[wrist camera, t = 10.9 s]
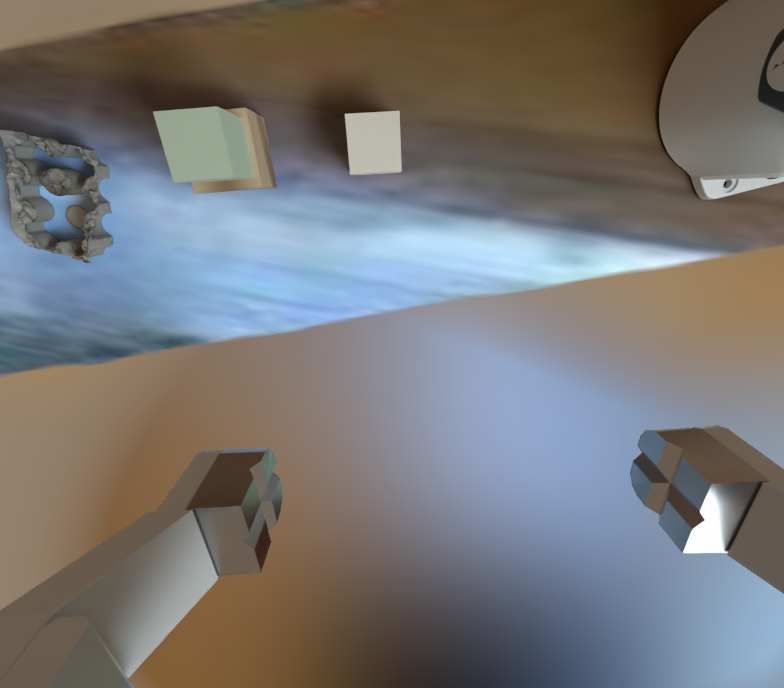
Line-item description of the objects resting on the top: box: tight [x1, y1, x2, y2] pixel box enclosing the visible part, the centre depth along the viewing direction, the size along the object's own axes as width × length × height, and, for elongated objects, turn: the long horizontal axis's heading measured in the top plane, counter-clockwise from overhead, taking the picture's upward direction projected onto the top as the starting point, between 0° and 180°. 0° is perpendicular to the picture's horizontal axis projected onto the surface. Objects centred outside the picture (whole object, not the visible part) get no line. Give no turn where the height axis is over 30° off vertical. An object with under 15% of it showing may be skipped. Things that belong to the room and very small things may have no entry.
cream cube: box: [345, 111, 402, 175], centre depth 33 cm, size 4×4×5 cm
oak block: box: [192, 108, 277, 194], centre depth 33 cm, size 6×6×5 cm
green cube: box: [153, 106, 255, 182], centre depth 28 cm, size 4×4×5 cm
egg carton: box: [0, 130, 113, 263], centre depth 35 cm, size 11×8×4 cm
